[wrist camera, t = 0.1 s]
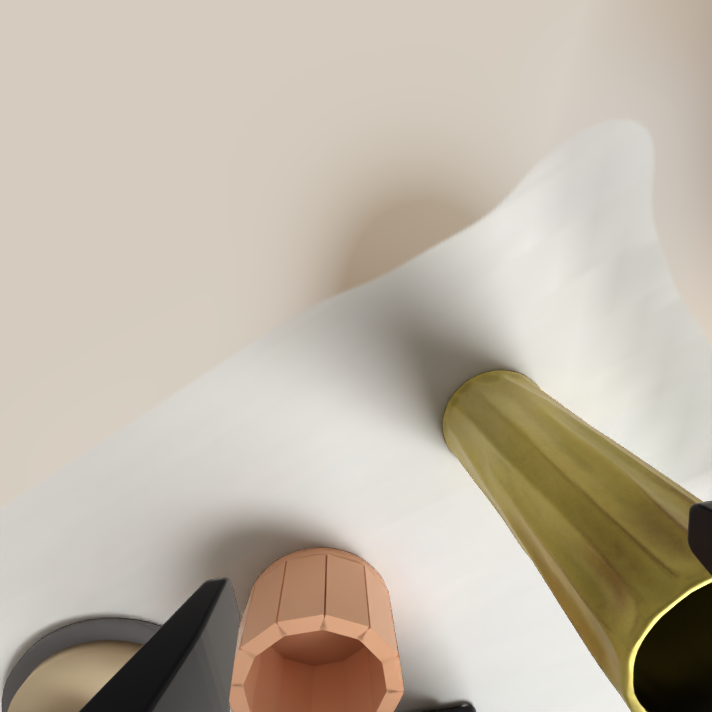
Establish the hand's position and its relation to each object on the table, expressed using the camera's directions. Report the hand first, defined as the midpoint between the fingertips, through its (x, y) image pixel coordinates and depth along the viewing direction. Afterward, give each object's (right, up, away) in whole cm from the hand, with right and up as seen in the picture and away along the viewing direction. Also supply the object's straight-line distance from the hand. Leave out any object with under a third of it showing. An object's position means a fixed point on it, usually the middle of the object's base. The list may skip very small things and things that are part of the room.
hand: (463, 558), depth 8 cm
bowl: (-4, -12, +18) cm, 22 cm away
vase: (+6, 0, +16) cm, 17 cm away
